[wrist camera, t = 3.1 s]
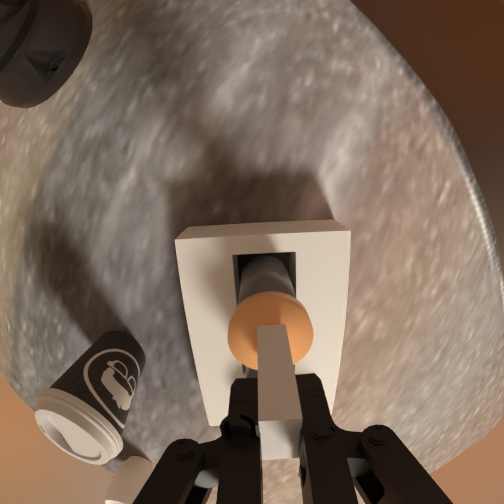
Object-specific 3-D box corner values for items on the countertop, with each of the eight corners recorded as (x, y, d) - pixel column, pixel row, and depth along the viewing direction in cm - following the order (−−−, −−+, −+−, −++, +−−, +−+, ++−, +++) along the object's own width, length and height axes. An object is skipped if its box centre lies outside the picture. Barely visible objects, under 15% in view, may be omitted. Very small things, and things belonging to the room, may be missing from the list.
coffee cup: (92, 307, 30) (20, 384, 16) (164, 339, 31) (119, 440, 16) (87, 361, 32) (35, 436, 18) (149, 390, 33) (115, 479, 19)
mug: (135, 446, 38) (119, 500, 26) (173, 468, 40) (164, 520, 29) (105, 456, 40) (89, 501, 29) (139, 477, 42) (128, 520, 31)
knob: (234, 252, 24) (223, 303, 15) (293, 249, 24) (315, 298, 15) (238, 305, 25) (231, 372, 16) (293, 301, 25) (311, 368, 16)
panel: (188, 226, 27) (174, 239, 22) (334, 219, 27) (350, 230, 22) (214, 397, 33) (209, 425, 29) (323, 391, 33) (330, 419, 28)
